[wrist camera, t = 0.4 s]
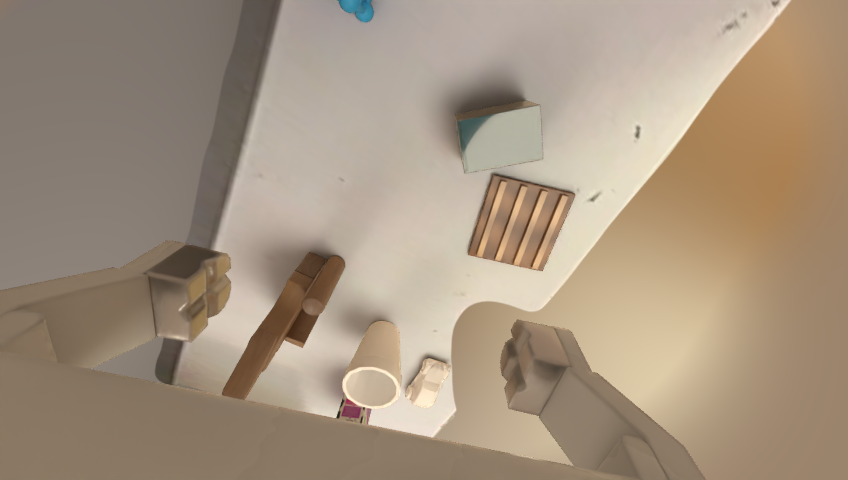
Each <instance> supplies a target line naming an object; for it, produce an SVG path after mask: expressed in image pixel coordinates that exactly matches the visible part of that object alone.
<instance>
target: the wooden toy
mask: <svg viewBox="0 0 848 480" xmlns="http://www.w3.org/2000/svg"><path fill="white" fill-rule="evenodd" d="M325 261H326V259H324V258H322V257H320V256H318V255H315V254H313V253H311V252H309V253H308V254H307V255H306V257H305V258H304V259H303V261H302V262H301V263H300V265H299V266H298V267H297V269H296V270H295V272H294V273H293V274H292V276H291V277H290V278H289V280H288V281H287V284H286V286H285V287H284V289H283V291H282V293H281V295H280V297H279V299H278V300H277V302H276V304H275V305H274V307H273V308H272V310H271V311H270V312H269V314H268V315H267V317H266V318H265V319H264V321H263V322H262V324H261V325H260V326H259V328H258V329H257V330H256V332H255V333H254V335H253V336H252V337H251V339H250V341H249V343H248V346H247V348H246V350H245V351H244V353H243V355H242V357H241V359H240V360H239V362H238V364H237V366H236V367H235V369H234V371H233V373H232V375H231V376H230V378H229V380H228V382H227V383H226V385H225V387H224V389H223V392H222V395H223V396H227V397H232V398H237V399H242V400H244V399H245V398H246V397H247V395H248V393H249V392H250V390H251V388H252V387H253V385H254V383H255V382H256V380H257V378H258V377H259V375H260V374H261V372H263V371H264V370H265V369H266V368H267V366H268V365H269V363H270V361H271V360H272V358H273V356H274V355H275V353H276V352H277V351H278V349H279V348H280V346H281V344H282V343H283V341H284V339H285V341H287V342H290V343H292V344H294V345H297V346H299V347H302V348H303V346H304V344H305V342H306V340H307V338H308V336H309V334H310V332H311V330H312V328H313V326H314V324H315V322H316V320H317V318H318V316H319V314H320V313H322V312H323V310H324V308H325V306H326V304H327V302H328V300H329V298H330V296H331V294H332V292H333V290H334V288H335V286H336V284H337V282H338V280H339V278H340V276H341V274H342V272H343V270H344V268H345V262H344V260H343V259H342V258H340V257H338V256H333V257H330V258H329V259H328V260H327V262H326V264H325V265H324V263H325ZM323 265H324V267H323ZM322 267H323V269H322Z"/></svg>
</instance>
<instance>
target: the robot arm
mask: <svg viewBox="0 0 848 480" xmlns="http://www.w3.org/2000/svg"><path fill="white" fill-rule="evenodd" d="M230 268H231V262H230V257H229V256H228V254H226V253H222V252H218V251H214V250H210V249H206V248H202V247H198V246H194V245H189V244H185V243H181V242H176V241H165V242H163V243H162V244H160V245H158V246H157V247H155V248H153V249H152V250H150V251H148V252H147V253H145V254H143V255H142V256H140V257H138V258H137V259H135V260H133V261H132V262H130V263H128V264H126V265H125V266H123V267H121V268H120V269H118V268H113V267H112V268H107V269H103V270H98V271H93V272H88V273H83V274H78V275H73V276H68V277H64V278H58V279H54V280H49V281H44V282H39V283H34V284H29V285H25V286H20V287H14V288H10V289H5V290H0V480H706V479H705V477H704V476H703V474H702V473H701V471H700V470H699V468H698V467H697V465H696V464H695V462H694V461H693V459H692V458H691V456H690V454H689V453H688V451H687V450H686V448H685V447H684V446H683V445H682V444H681V443H680V442H679V441H677V440H676V439H675V438H674V437H673V436H672V435H670V434H669V433H668V432H667V431H666V430H664V429H663V428H662V427H661V426H660V425H658V424H657V423H656V422H655V421H654V420H652V419H651V418H650V417H649V416H648V415H647V414H645V413H644V412H643V411H642V410H641V409H640V408H638V407H637V406H636V405H635V404H633V403H632V402H631V401H630V400H629V399H628V398H626V397H625V396H624V395H623V394H622V393H621V392H619V391H618V390H617V389H616V388H615V387H613V386H612V385H611V384H610V383H609V382H607V381H606V380H605V379H604V378H603V377H602V376H600V375H599V374H598V373H595V372H592V371H591V369H590V367H589V365H588V363H587V361H586V359H585V357H584V355H583V353H582V351H581V349H580V347H579V345H578V343H577V341H576V339H575V337H574V336H573V334H572V332H571V331H570V330H568V329H564V328H559V327H553V326H547V325H542V324H537V323H532V322H527V321H523V320H516V322H515V323H514V324H513V327H512V329H511V333H512V337H513V338H511V339H510V340H508V341H507V342H506V343H505V345H504V347H503V350H502V354H501V360H500V364H501V365H500V366H501V373H502V376H503V377H504V378H505V379H506V380H507V384H506V386H505V388H504V389H505V393H506V398H507V403H508V408H509V409H512V410H516V411H520V412H524V413H529V414H533V415H537V416H539V418H540V420H541V421H542V423H543V424H544V425H545V427H546V428H547V429H548V430H549V432H550V433H551V435H552V436H553V438H554V439H555V440H556V442H557V443H558V444H559V446H560V447H561V449H562V450H563V451H564V453H565V454H566V455H567V457H568V458H569V460H570V461H571V462H572V464H573V465H574V466H571V465H566V464H561V463H556V462H551V461H545V460H540V459H536V458H531V457H526V456H521V455H515V454H510V453H505V452H500V451H495V450H490V449H486V448H481V447H476V446H471V445H466V444H460V443H456V442H451V441H446V440H441V439H436V438H431V437H426V436H422V435H417V434H412V433H407V432H402V431H397V430H392V429H387V428H382V427H377V426H372V425H367V424H362V423H357V422H352V421H347V420H342V419H337V418H332V417H327V416H322V415H317V414H312V413H307V412H302V411H297V410H292V409H287V408H282V407H277V406H272V405H267V404H262V403H257V402H252V401H247V400H242V399H237V398H232V397H227V396H222V395H217V394H212V393H207V392H202V391H197V390H192V389H187V388H182V387H177V386H172V385H167V384H162V383H157V382H151V381H147V380H142V379H137V378H132V377H127V376H122V375H117V374H112V373H107V372H102V371H97V370H92V369H91V368H93V367H95V366H97V365H99V364H101V363H104V362H106V361H108V360H110V359H112V358H114V357H116V356H119V355H121V354H123V353H125V352H127V351H129V350H131V349H133V348H136V347H138V346H140V345H142V344H144V343H146V342H148V341H150V340H153V339H155V338H156V336H158V337H163V338H169V339H174V340H180V341H185V342H192V341H193V340H194V339H195V338H196V337H197V336H198V335H199V334H200V333H201V332H202V331H203V330H204V329H205V328H206V327H207V325H208V318H209V317H212V316H215V315H217V314H219V312H220V311H221V310H222V309H223V308H224V307H225V305H226V303H227V301H228V299H229V295H230V291H231V281H230V280H229V278H228V277H227V275H226V274H225V273H226V272H227V271H228V270H229V269H230Z"/></svg>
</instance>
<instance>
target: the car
mask: <svg viewBox="0 0 848 480" xmlns="http://www.w3.org/2000/svg"><path fill="white" fill-rule="evenodd" d="M449 370H450V365H448V364H446V363H443V362H440V361H437V360H434V359H430V358H427V360H426V359H425V360H424V361H423V364H422V369H421V371H420V372H419V373H418V375H417V376H416V377H415V379H414V380H413V382H412V383H411V384H410V385H409V386H408V388H407V391H406V395H405V396H406V397H407V399H409V400H411V402H412V403H413V404H415V405H416V406H418V407H425V408H429V407H430V406H431V405H432V404H434V402H435V400H436V396H437V394H438V391H439V388H440V387H442V386H441V383H442V381H443V380H445V379H446V378H447V376H448V373H449Z"/></svg>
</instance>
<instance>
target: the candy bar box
mask: <svg viewBox="0 0 848 480" xmlns="http://www.w3.org/2000/svg"><path fill="white" fill-rule="evenodd" d="M370 412H371V409H369V408H366V407H362V406H358V405H356V404H355V403H354V402H352V401H351V400H349V399H348V398H347V396H346V395H345V393H344V396H343V399H342V402H341V405H340V408H339V411H338V414H337V417H336V418H337V419H342V420H347V421H352V422H357V423H362V424H367V425H368V421H369V417H370Z"/></svg>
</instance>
